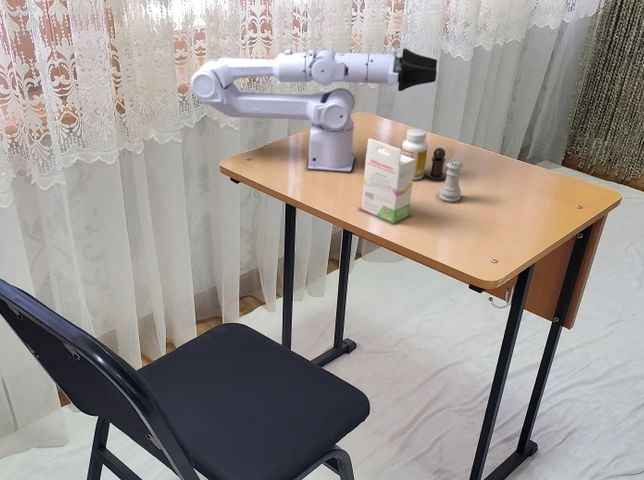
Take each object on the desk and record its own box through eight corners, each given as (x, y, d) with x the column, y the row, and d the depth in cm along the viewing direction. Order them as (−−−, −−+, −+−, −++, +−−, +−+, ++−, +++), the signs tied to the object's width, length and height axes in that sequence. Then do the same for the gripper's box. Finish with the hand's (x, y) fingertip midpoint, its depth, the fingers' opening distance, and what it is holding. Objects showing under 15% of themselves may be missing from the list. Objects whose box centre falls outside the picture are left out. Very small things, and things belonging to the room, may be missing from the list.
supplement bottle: (422, 170, 161) (428, 127, 155) (424, 181, 157) (430, 137, 151) (397, 170, 162) (402, 126, 156) (399, 180, 158) (404, 136, 152)
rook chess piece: (461, 195, 151) (468, 158, 147) (459, 204, 148) (465, 166, 143) (439, 192, 153) (445, 155, 148) (436, 201, 149) (442, 163, 144)
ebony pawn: (426, 180, 157) (430, 151, 153) (426, 172, 160) (430, 144, 157) (445, 181, 157) (450, 152, 153) (445, 174, 160) (449, 145, 156)
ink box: (409, 216, 144) (419, 143, 135) (393, 224, 141) (402, 150, 132) (376, 201, 149) (383, 130, 140) (359, 209, 146) (366, 137, 138)
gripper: (366, 57, 142) (438, 59, 140) (372, 39, 154) (439, 40, 152) (364, 93, 147) (434, 96, 144) (370, 73, 158) (435, 76, 156)
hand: (436, 70), depth 148 cm, fingers open, 7 cm apart
